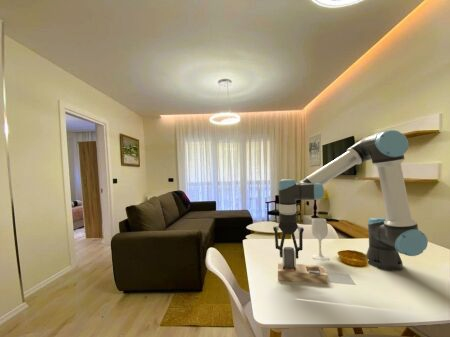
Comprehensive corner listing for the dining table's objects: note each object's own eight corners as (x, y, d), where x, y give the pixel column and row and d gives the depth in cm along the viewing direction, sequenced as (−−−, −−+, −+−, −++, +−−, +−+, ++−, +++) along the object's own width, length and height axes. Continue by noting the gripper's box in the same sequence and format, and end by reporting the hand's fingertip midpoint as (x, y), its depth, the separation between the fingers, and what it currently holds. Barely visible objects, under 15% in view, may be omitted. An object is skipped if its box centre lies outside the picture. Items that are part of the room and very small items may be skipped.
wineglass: (311, 259, 117) (310, 220, 117) (312, 254, 125) (310, 217, 125) (329, 262, 114) (328, 221, 114) (328, 256, 122) (327, 218, 122)
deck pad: (348, 274, 99) (348, 273, 99) (355, 285, 90) (355, 284, 90) (324, 272, 102) (324, 271, 102) (329, 283, 92) (329, 282, 92)
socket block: (323, 274, 100) (323, 264, 100) (327, 284, 91) (327, 273, 91) (278, 270, 105) (278, 261, 105) (278, 279, 96) (277, 269, 96)
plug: (294, 271, 101) (293, 247, 101) (294, 275, 96) (294, 250, 97) (284, 270, 102) (283, 246, 102) (284, 274, 97) (283, 249, 98)
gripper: (307, 212, 101) (308, 263, 101) (268, 211, 105) (270, 260, 105) (308, 215, 94) (310, 270, 93) (267, 214, 98) (269, 266, 98)
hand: (289, 264), depth 99 cm, fingers closed on plug, 4 cm apart
